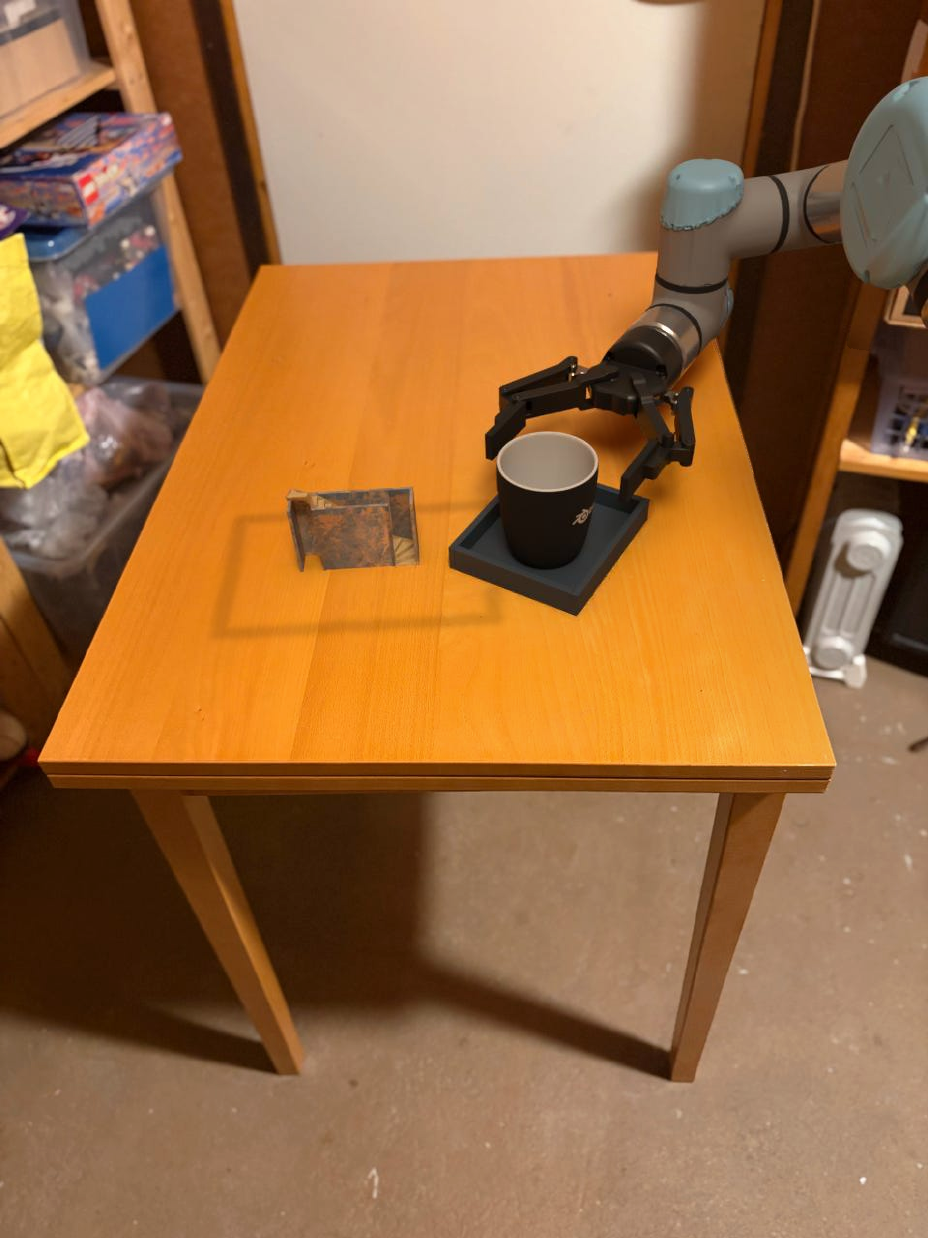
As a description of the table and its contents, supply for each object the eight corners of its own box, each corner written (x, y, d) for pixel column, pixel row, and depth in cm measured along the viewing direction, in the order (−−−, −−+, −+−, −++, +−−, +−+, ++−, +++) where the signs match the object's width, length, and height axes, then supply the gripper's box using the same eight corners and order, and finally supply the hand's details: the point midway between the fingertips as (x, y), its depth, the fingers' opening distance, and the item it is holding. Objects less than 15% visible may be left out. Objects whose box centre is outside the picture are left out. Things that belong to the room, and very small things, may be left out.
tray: (647, 519, 91) (650, 498, 90) (577, 616, 82) (578, 596, 81) (528, 480, 97) (528, 460, 95) (449, 567, 88) (448, 547, 86)
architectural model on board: (300, 577, 88) (281, 496, 81) (303, 556, 90) (285, 475, 83) (419, 571, 88) (410, 489, 81) (419, 549, 90) (411, 468, 83)
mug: (579, 588, 84) (584, 499, 77) (485, 569, 86) (482, 481, 79) (609, 508, 92) (617, 420, 85) (522, 492, 94) (523, 406, 87)
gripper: (760, 421, 94) (679, 543, 81) (541, 363, 103) (439, 463, 91) (775, 354, 88) (690, 473, 76) (542, 299, 98) (434, 397, 86)
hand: (553, 468), depth 83 cm, fingers open, 13 cm apart
